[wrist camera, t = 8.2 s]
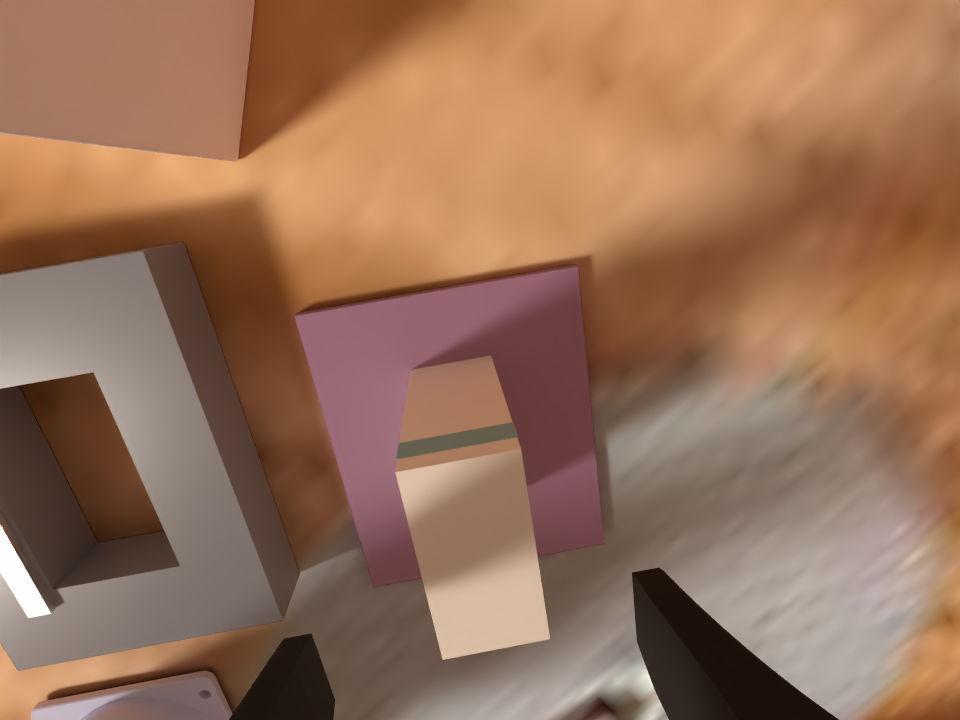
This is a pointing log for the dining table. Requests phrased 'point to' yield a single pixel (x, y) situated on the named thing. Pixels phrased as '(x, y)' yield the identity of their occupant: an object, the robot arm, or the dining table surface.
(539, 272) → the mat
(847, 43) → the dining table surface
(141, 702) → the robot arm
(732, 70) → the dining table surface
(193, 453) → the grey rectangular frame
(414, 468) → the striped tan bar
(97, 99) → the milk
